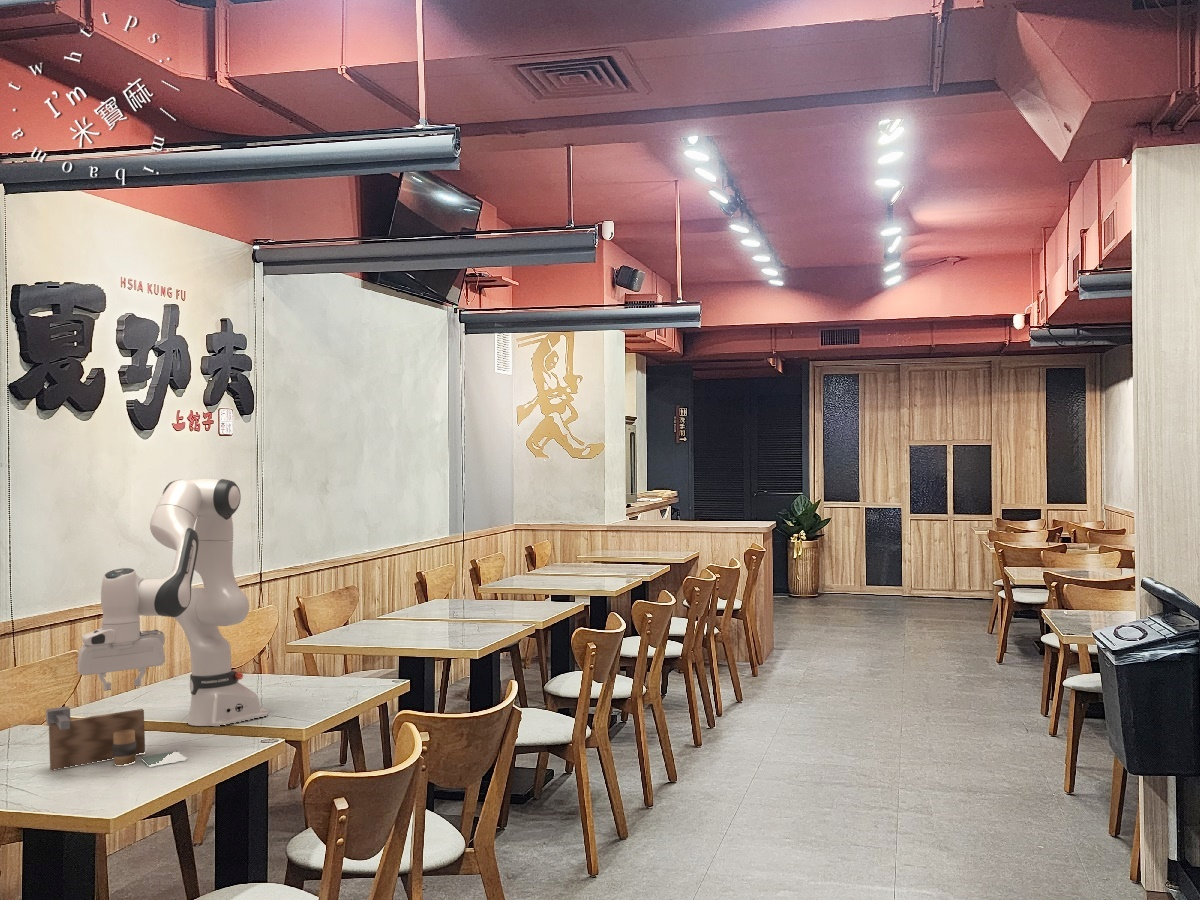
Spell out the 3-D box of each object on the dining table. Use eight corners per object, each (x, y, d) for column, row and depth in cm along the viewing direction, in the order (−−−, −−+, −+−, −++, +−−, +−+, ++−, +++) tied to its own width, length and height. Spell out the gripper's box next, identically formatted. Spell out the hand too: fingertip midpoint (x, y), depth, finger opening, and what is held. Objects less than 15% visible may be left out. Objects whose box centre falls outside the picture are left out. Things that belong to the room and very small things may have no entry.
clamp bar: (68, 718, 269) (67, 706, 269) (76, 728, 258) (76, 715, 258) (46, 721, 267) (45, 709, 267) (54, 731, 255) (53, 719, 255)
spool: (134, 759, 272) (133, 728, 272) (138, 763, 268) (137, 732, 268) (111, 763, 269) (110, 731, 269) (115, 768, 265) (114, 735, 265)
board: (143, 752, 279) (142, 708, 279) (145, 754, 277) (143, 710, 277) (50, 768, 266) (48, 722, 266) (51, 770, 264) (49, 724, 264)
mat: (178, 753, 276) (178, 750, 276) (186, 760, 269) (186, 757, 269) (141, 760, 271) (141, 757, 271) (149, 767, 264) (149, 764, 264)
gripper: (161, 627, 277) (163, 680, 277) (75, 636, 266) (76, 692, 266) (167, 630, 272) (168, 683, 272) (79, 639, 261) (81, 696, 260)
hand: (122, 688), depth 269 cm, fingers open, 6 cm apart
